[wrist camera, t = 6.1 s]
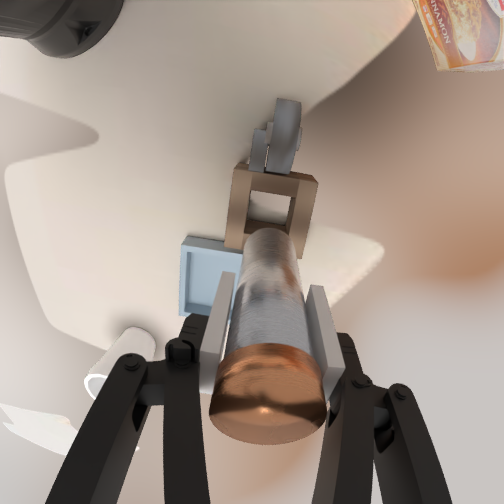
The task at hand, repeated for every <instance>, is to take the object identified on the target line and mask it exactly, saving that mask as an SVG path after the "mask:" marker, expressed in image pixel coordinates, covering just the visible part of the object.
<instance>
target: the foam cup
mask: <svg viewBox="0 0 504 504" xmlns="http://www.w3.org/2000/svg"><path fill="white" fill-rule="evenodd" d="M155 348H156V343H155V340H154V338H153V337H152V336H151V335H150V334H149V333H148V332H147V331H145V330H143V329H141V328H137V327H130V328H127V329H126V330H125V331H124V332H123V333H122V334H121V336H120V337H119V338H118V339H117V340H116V341H115V343H114V344H113V345H112V346H111V347H110V348H109V350H108V351H107V352H106V353H105V354H104V355H103V357H102V358H101V359H100V360H99V362H98V363H97V364H95V365H94V366H93V367H92V368H91V369H90V371H89V372H88V374H87V376H86V377H85V379H84V382H85V388H86V389H87V391H88V392H89V394H90V395H91V397H93V398H94V399H96V397H97V395H98V393H99V391H100V390H101V388H102V386H103V384H104V382H105V381H106V379H107V377H108V375H109V373H110V372H111V370H112V368H113V366H114V364H115V363H116V361H117V359H118V358H119V357H120V356H122V355H124V354H127V353H136V354H139V355H141V356H143V357H144V358H145V359H146V361H153V357H154V353H155Z"/></svg>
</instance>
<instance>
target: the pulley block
mask: <svg viewBox="0 0 504 504" xmlns="http://www.w3.org/2000/svg"><path fill="white" fill-rule="evenodd" d="M300 121H301V102H296V101H291V100H285V99H280V98H277V102H276V108H275V113H274V119H273V122H268V123H267V129H266V130H260V129H255V130H254V136H253V143H252V149H251V156H250V162H249V164H243V163H238V164H237V165H236V167H235V168H234V172H233V179H232V186H231V194H230V201H229V209H228V217H227V225H226V233H225V241H224V247H227V248H234V249H240V250H244V246H245V243H246V241H247V239H248V238H249V236H250V235H251V234H253V233H254V232H255V231H257V230H260V229H263V228H276V229H279V230H281V231H283V232H285V233H286V234H287V235H288V236H289V237H290V238H291V240H292V241H293V244H294V247H295V252H296V257H297V259H302V255H303V250H304V246H305V242H306V238H307V233H308V229H309V224H310V220H311V215H312V211H313V206H314V202H315V197H316V192H317V188H318V182H317V181H316V180H315V179H314V177H313V176H312V175H308V174H303V173H297V172H292V171H290V170H291V167H292V164H293V160H294V156H295V151H298V149H299V146H300V142H301V135H302V128H301V127H300ZM268 146H269V150H268V156H267V163H266V167H264V166H265V160H266V154H267V148H268ZM251 190H255V191H260V192H266V193H273V194H279V195H285V196H290V197H291V200H290V206H289V211H288V216H287V221H286V226H284V225H278V224H272V223H266V222H259V221H253V220H247V214H248V207H249V200H250V193H251Z"/></svg>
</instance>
